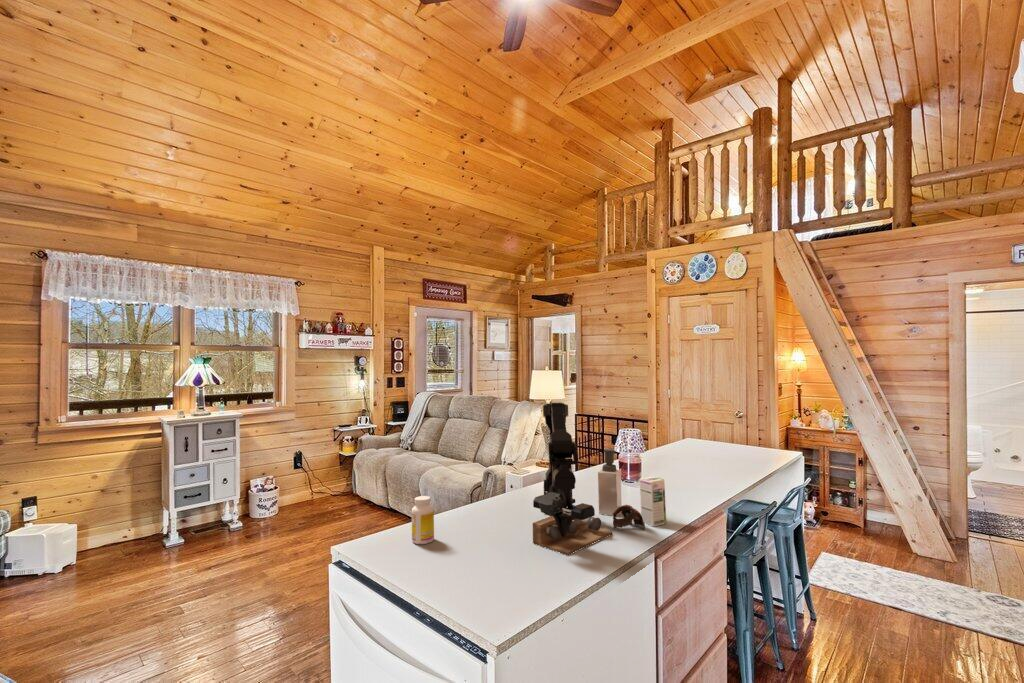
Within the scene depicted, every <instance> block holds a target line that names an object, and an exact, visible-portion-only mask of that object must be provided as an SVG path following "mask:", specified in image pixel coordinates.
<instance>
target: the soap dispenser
mask: <svg viewBox="0 0 1024 683" xmlns="http://www.w3.org/2000/svg"><path fill="white" fill-rule="evenodd" d="M603 451H604V463H605V464H603V465H602V469H600V470H599V471H598V472H597V482H598V483H597V485H598V486H597V487H598V514H599V515H602V514H606V515H605V516H610V515H613V512H614V511H615V510H616V509H617V508H619V507H620V506H623V505H622V478H621V477H622V476H621V475H622V473H621V469H617V465H616V464H614V462H615V460H614V458H615V457H614V456H615V455H616V453H615V452H616V451H615V449H611V448H604V449H603ZM619 513H620V512H619ZM619 513H618V514H617V515H616V517H618V516H619V515H620V514H621V513H620V514H619Z"/></svg>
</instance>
